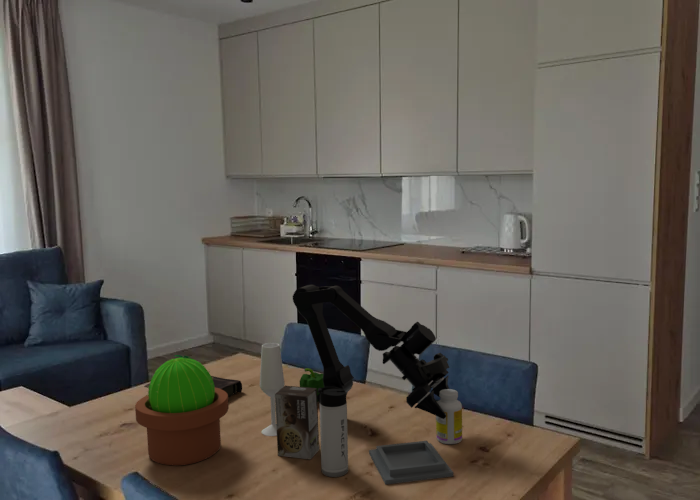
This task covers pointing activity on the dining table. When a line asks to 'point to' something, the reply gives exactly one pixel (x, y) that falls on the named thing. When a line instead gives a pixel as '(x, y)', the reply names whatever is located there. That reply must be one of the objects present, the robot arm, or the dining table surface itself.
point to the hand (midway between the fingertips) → (450, 411)
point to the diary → (225, 385)
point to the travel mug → (333, 431)
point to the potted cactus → (182, 413)
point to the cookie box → (297, 422)
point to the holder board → (409, 462)
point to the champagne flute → (271, 379)
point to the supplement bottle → (449, 418)
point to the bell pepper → (312, 380)
